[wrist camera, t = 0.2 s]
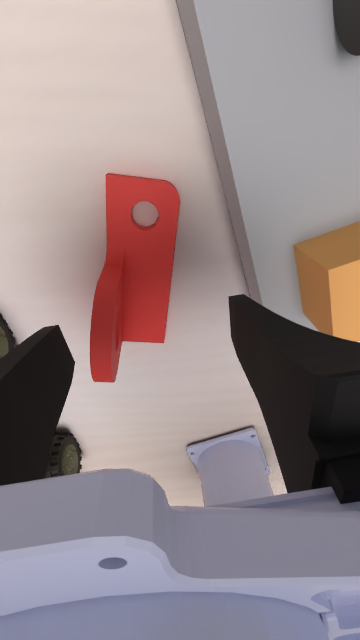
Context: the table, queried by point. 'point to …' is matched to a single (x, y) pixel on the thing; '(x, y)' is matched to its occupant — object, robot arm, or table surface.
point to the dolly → (348, 24)
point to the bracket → (133, 271)
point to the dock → (278, 130)
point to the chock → (331, 281)
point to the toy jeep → (63, 446)
